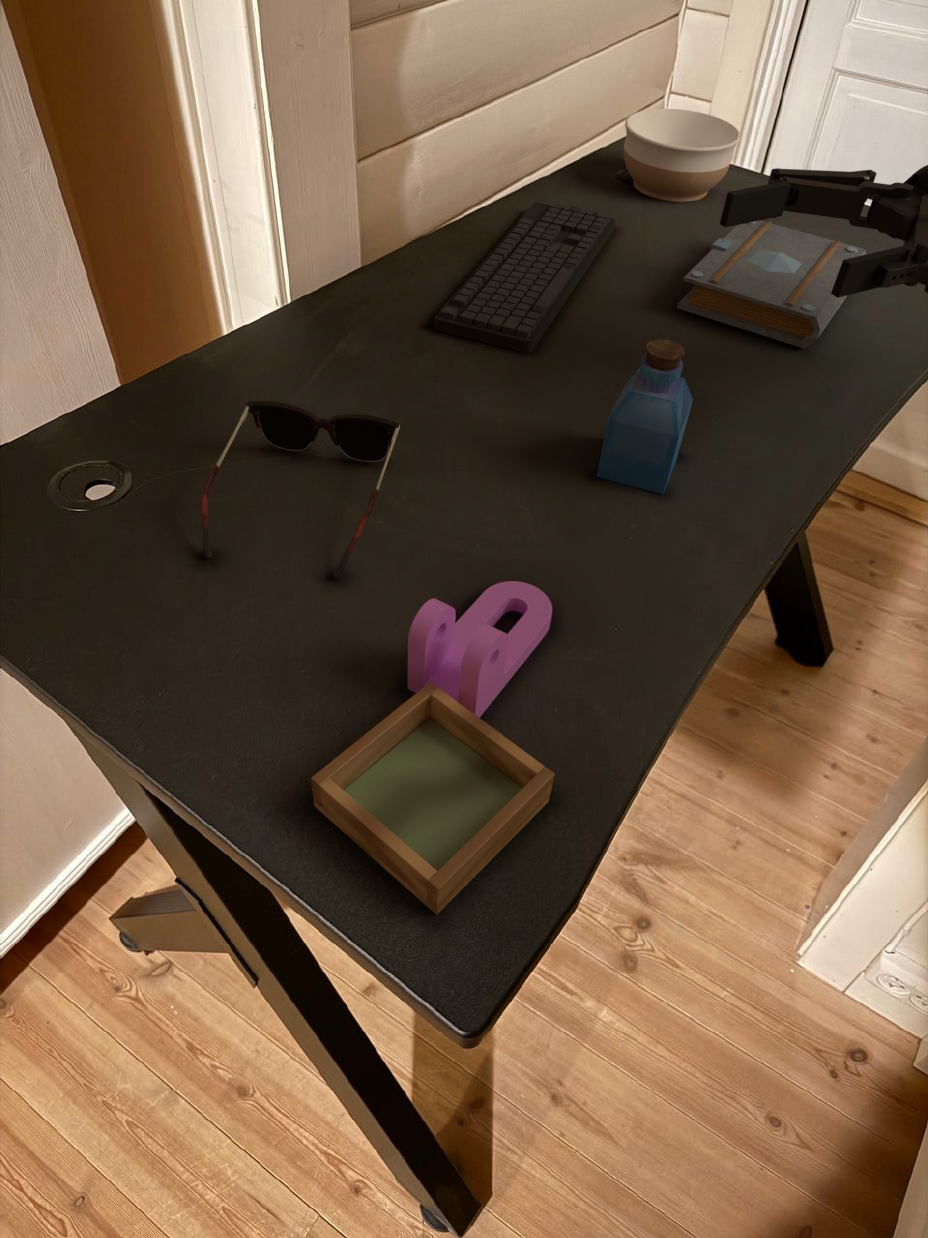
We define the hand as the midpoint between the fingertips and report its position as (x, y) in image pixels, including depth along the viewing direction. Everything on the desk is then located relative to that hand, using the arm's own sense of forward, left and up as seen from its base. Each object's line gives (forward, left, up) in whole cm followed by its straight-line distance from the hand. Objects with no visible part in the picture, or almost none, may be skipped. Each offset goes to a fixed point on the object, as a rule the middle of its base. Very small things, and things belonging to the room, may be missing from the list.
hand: (779, 242), depth 73 cm
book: (+11, -31, -19) cm, 38 cm away
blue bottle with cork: (+3, +9, -20) cm, 22 cm away
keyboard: (+34, -14, -19) cm, 42 cm away
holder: (-8, +49, -19) cm, 53 cm away
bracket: (-2, +36, -19) cm, 41 cm away
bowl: (+38, -51, -19) cm, 67 cm away
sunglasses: (+20, +35, -19) cm, 45 cm away
